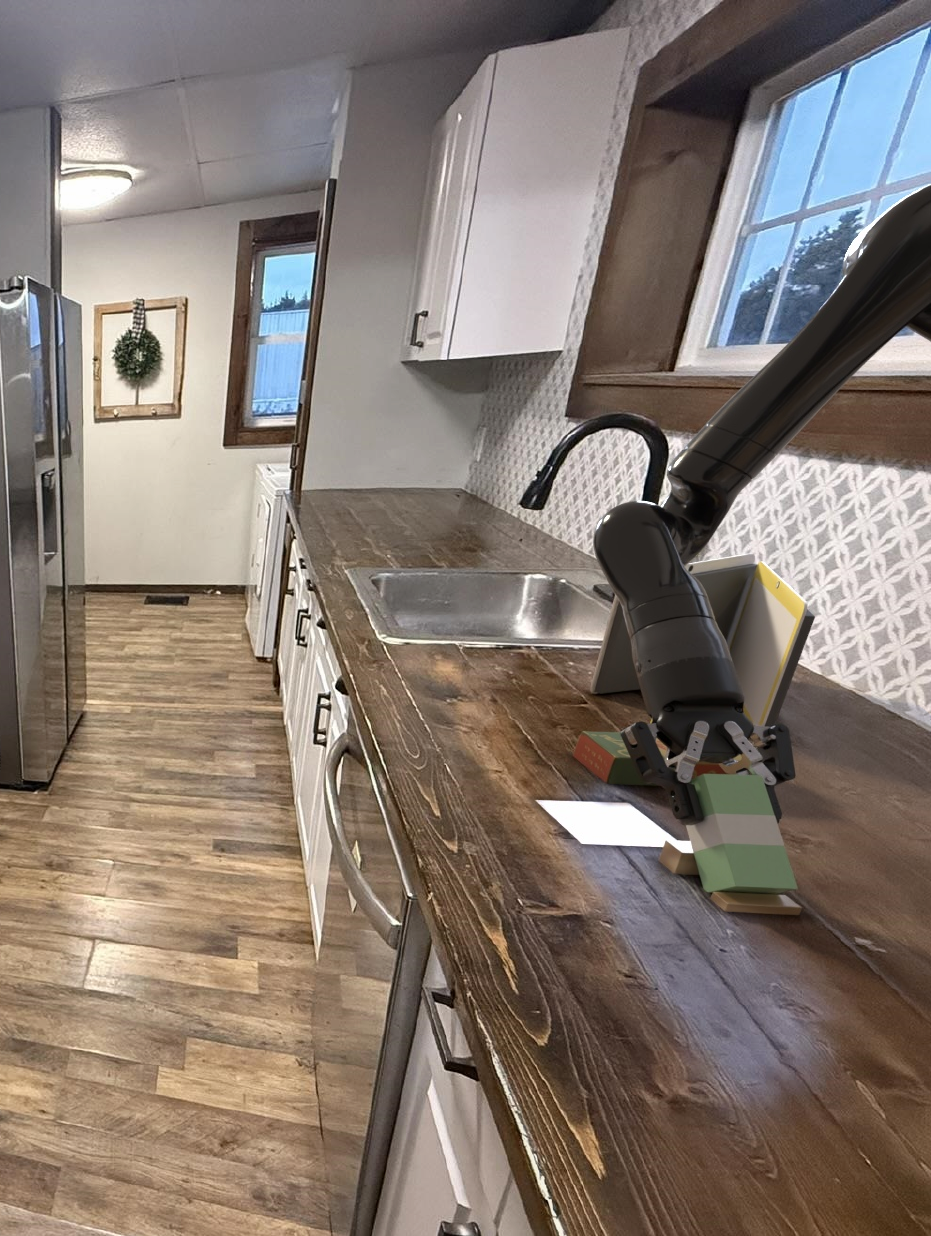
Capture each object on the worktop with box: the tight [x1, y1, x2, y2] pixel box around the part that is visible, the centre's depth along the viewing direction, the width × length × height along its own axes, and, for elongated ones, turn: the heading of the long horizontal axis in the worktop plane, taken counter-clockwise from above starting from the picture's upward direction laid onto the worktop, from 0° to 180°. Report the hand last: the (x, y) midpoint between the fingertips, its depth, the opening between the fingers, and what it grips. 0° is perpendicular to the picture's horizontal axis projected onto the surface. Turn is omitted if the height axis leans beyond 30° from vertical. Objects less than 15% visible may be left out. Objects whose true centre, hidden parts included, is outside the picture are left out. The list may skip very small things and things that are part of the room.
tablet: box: [589, 553, 816, 727], centre depth 118 cm, size 35×22×20 cm, turn 147°
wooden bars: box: [658, 839, 803, 916], centre depth 75 cm, size 9×7×3 cm
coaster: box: [534, 799, 677, 849], centre depth 87 cm, size 10×10×1 cm
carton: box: [572, 730, 753, 787], centre depth 96 cm, size 8×16×4 cm, turn 78°
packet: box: [685, 774, 799, 895], centre depth 75 cm, size 10×5×11 cm, turn 171°
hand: (729, 824), depth 75 cm, fingers open, 5 cm apart
